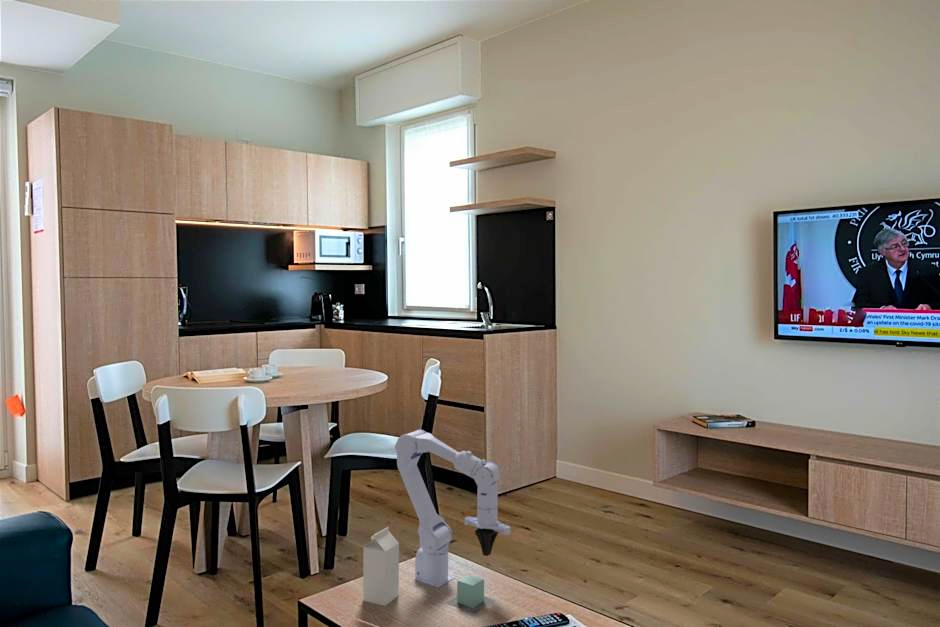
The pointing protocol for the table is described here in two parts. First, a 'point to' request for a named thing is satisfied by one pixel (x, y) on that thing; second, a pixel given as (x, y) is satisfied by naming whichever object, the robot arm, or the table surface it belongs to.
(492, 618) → the table surface
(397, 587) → the milk carton
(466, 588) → the mint green cube
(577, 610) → the table surface
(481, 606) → the peg stand
